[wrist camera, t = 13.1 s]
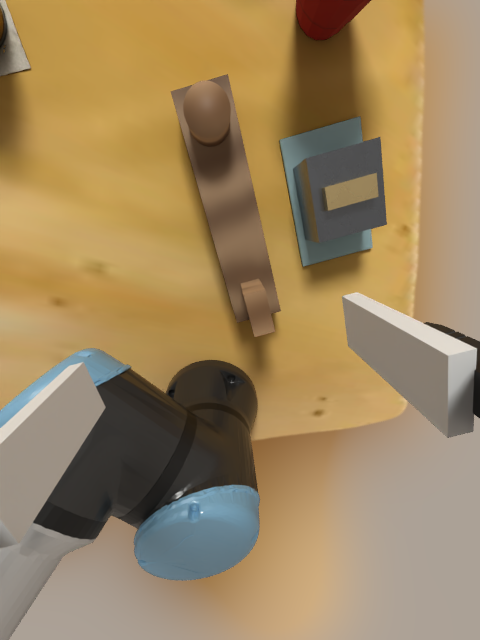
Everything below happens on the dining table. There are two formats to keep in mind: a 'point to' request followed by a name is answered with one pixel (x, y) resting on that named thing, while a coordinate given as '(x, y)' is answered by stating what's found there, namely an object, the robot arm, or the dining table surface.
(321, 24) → the plastic cup
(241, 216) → the plane body
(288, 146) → the rubber mat
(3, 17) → the condiment
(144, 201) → the dining table surface
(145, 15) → the dining table surface
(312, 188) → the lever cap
